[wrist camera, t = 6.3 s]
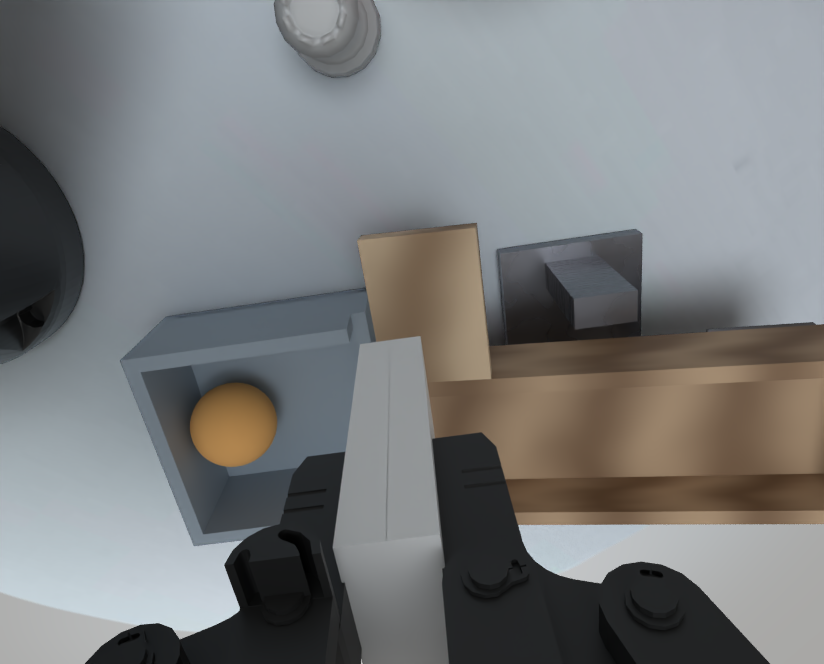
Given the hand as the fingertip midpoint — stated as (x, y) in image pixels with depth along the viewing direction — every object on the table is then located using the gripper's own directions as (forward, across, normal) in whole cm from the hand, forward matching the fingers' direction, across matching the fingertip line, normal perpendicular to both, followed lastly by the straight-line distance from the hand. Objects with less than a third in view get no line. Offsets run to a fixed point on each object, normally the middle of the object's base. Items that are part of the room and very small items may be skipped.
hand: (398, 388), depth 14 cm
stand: (+19, +10, -10) cm, 24 cm away
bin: (+20, -8, -10) cm, 24 cm away
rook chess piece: (+20, -2, +10) cm, 22 cm away
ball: (+16, -11, -10) cm, 22 cm away
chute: (+15, +10, -7) cm, 19 cm away
